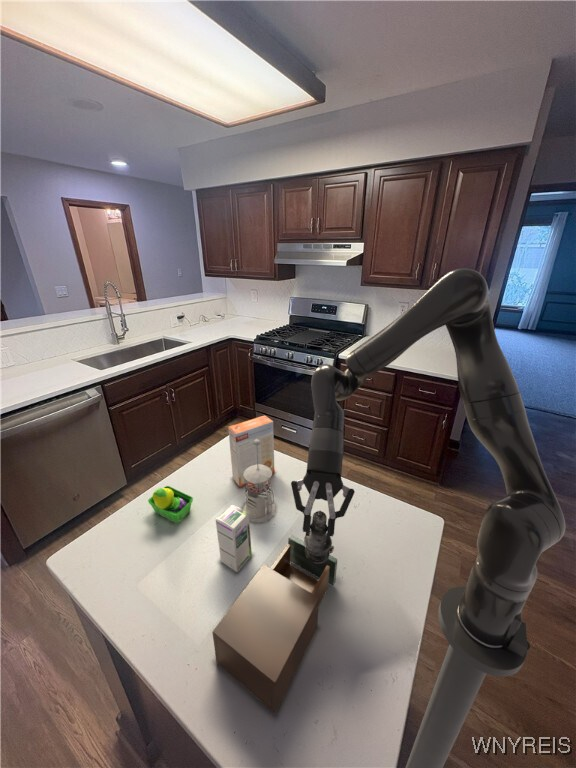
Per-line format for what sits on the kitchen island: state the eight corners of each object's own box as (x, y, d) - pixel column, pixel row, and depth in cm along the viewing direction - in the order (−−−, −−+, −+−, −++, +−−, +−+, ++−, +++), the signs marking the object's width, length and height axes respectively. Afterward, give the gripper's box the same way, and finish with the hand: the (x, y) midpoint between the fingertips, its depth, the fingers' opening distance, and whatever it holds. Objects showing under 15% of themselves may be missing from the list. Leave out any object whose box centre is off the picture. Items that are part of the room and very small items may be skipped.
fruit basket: (196, 510, 94) (192, 480, 90) (173, 532, 87) (168, 500, 82) (169, 497, 99) (163, 468, 94) (145, 516, 92) (138, 486, 87)
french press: (263, 493, 101) (262, 426, 91) (285, 515, 93) (286, 445, 83) (236, 507, 95) (232, 437, 86) (257, 532, 87) (254, 458, 77)
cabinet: (264, 592, 72) (263, 563, 68) (317, 627, 65) (319, 597, 61) (216, 662, 59) (212, 631, 56) (275, 714, 53) (275, 683, 49)
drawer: (299, 543, 83) (300, 521, 80) (342, 566, 77) (345, 544, 74) (255, 607, 68) (254, 583, 65) (305, 642, 62) (306, 617, 59)
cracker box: (266, 464, 115) (265, 414, 107) (275, 472, 111) (274, 421, 102) (231, 478, 108) (227, 425, 100) (239, 488, 103) (235, 433, 95)
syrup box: (237, 573, 76) (234, 529, 70) (219, 561, 79) (215, 518, 73) (252, 555, 80) (250, 513, 75) (234, 545, 83) (231, 503, 78)
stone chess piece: (299, 544, 69) (301, 503, 64) (323, 537, 71) (327, 496, 66) (309, 568, 64) (312, 525, 59) (335, 560, 66) (340, 517, 61)
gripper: (357, 458, 71) (352, 541, 65) (295, 450, 73) (285, 530, 67) (360, 452, 64) (354, 545, 58) (292, 444, 66) (280, 532, 60)
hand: (317, 536), depth 63 cm, fingers closed on stone chess piece, 3 cm apart
